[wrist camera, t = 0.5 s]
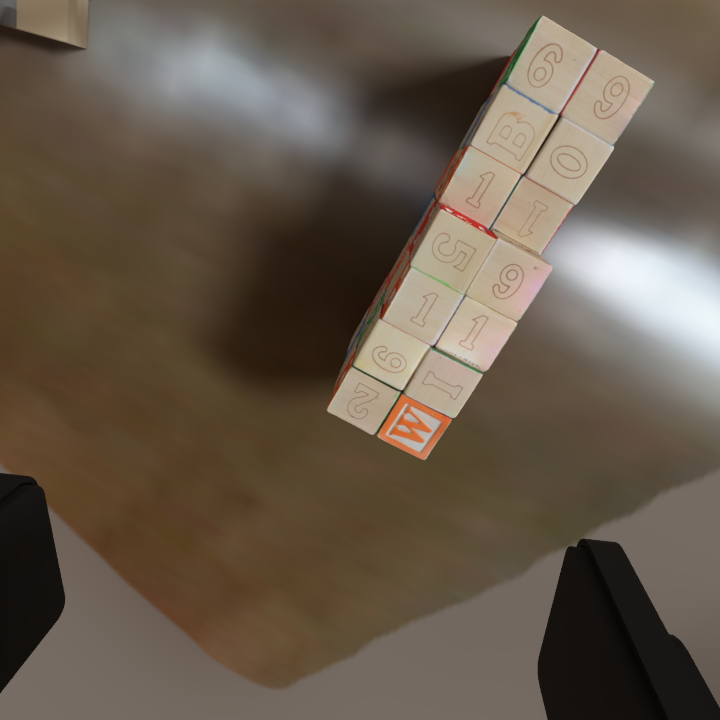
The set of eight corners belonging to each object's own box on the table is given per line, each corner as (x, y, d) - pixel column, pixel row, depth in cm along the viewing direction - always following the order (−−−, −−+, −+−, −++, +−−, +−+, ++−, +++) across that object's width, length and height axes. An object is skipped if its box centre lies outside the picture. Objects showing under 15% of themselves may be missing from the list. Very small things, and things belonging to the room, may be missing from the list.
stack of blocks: (509, 51, 31) (562, -12, 20) (595, 103, 32) (695, 71, 20) (350, 339, 39) (322, 413, 28) (421, 377, 40) (423, 465, 28)
